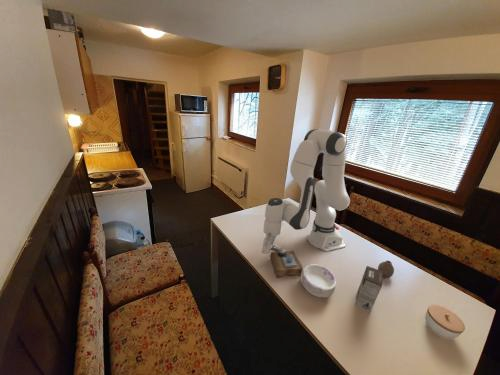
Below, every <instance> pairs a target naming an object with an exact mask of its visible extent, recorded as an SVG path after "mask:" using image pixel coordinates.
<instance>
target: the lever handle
mask: <svg viewBox="0 0 500 375" xmlns="http://www.w3.org/2000/svg"><path fill="white" fill-rule="evenodd" d="M285 251H287V250H286V248H285V247H279V246H276V245H273V246H272V249H271V252H277V253H279V254H280V255H281V256H284V255H285Z"/></svg>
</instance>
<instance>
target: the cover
mask: <svg viewBox="0 0 500 375" xmlns="http://www.w3.org/2000/svg"><path fill="white" fill-rule="evenodd" d="M282 261H283V263H284V266H285V267H297V264H296V262H295V260H294V258H293V256H292V255H291V254H288V257H282Z"/></svg>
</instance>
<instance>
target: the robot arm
mask: <svg viewBox="0 0 500 375" xmlns="http://www.w3.org/2000/svg"><path fill="white" fill-rule="evenodd" d="M347 142H348V140H347V137H346V135H345V134H343V133H342V132H339V131H333V130H328V129H317V128H313V129H310V130H309V131H307V133H306V134H305V136H304V137H303V140H302V141H301V142H300V143H299V145H298V146H297V148H296V151H295V153H294V155H293V159H292V161H291V163H290V168H289V169H290V170H289V171H290V172H289V173H290V175H291V177H292V178H293V180H294V181H295V182H296V183H297V184H298V186H299V188H300V191H301V192H300V193H301V194H300V199H299V204H298V206H297V205H296V204H294V203H292V202H291V201H289V200H283V199H282V198H280V197H272V198H270V199H269V200H268V201H267V203H266V207H265V211H264V217H265V219H264V221H263V233H264V234H265V237H264V240H263V243H262V250H261V252H262V254H265V255H270V254H271V252H272V250H271V249H272V246H274V243H275V241H276V240H277V237H278V236H279V235H280V234H281V229H282V222H283V221H284V222H286V223H287V224H288V225H289V226H291V227H292V228H293V229H294V230H302V229H303V230H304V229H305V228H307V226H308V225H309V223H310V220H311V219H310V217H311V207H312V202H313V199H314V194H315V199H316V200H315V202H316V212H315V217H314V220H313V223H312V229H311V232H310V234H309V236H308V238H307V240H308V243H309V244H311V245H312V246H313V247H315V248H317V249H320V250H322V251H324V252H331V251H335V250H339V249H344V248H346V244H345V242H344V240H343V236H342V234H341V233H340V231H338V230H340V227H339V226H338V225H336V223H335V220H336V218H337V212H336V211H343V210H346V209H347V208H348V207H349V205H350V203H351V198H350V196H349V194H348V192H347V189H346V188H347V187H346V184H345V168H346V162H347V161H346V158H347V157H346V156H347V152H346V150H347V149H346V147H347V146H348V145H347ZM322 153H323V159H322V171H321V176H322V179H321V180H318V181H316V180H315V179H314V172H315V171H314V170H315V167H316V164H317V160H318V156H319V155H320V154H322Z"/></svg>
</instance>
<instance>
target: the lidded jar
mask: <svg viewBox="0 0 500 375" xmlns="http://www.w3.org/2000/svg"><path fill="white" fill-rule="evenodd" d="M424 320H425V322H426V324H427V327H428V329H429V330H430V331H431V332H432V333H433V334H434V335H435V336H438V337H439V338H442V339H447V340H454V339H457V338H459V337H460V336H461V334H462V333H464V332H465V330H466V326H465V323H464V321H463V320H462V319H461V318H460V317H459V316H458V315H457V314H456V312H455V313H454V312H453V311H452V310H450V309H449V308H447V307H445V306H443V305H439V304H429V306H428V307H427V310H426V312H425V319H424Z"/></svg>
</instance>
